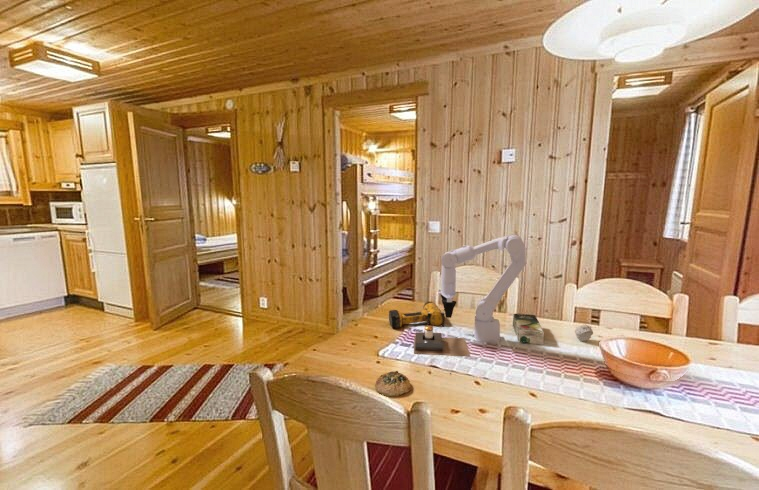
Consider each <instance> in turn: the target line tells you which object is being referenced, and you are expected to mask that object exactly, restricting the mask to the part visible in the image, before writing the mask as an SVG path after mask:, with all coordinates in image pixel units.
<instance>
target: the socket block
mask: <svg viewBox="0 0 759 490" xmlns="http://www.w3.org/2000/svg"><path fill="white" fill-rule="evenodd" d="M414 336H415V350H418V351H442V352H443V341H442V337H443V336H442V333H441V332H433V340H425V332H420V331H419V332H418V331H416V332H415V335H414Z"/></svg>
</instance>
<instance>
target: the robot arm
mask: <svg viewBox="0 0 759 490" xmlns="http://www.w3.org/2000/svg"><path fill="white" fill-rule="evenodd" d="M493 250H499V251H503V252H504V251H505V250H506V251H507V252H508V254H509V256H510V260H511V262H509V264H508V265H507V266H506V267H507V268H506V269H505V270H504V271H503V273H502V275H501V276H500V277H498V280H497V281H496V282H495V284H494V285H493V287H492V288H491V290H490V291H489V292H488V294H486V295H485V297H484V298H483V299H480V300H479V301H478V302H477V305H476V310H475V315H474V330H473V331H474V335H473V336H474V340H476V341H479V342H481V343H482V342H484V343H488V342H489V343H490V342H500V335H501V326H500V325H501V324H500V321H499V319H497V318H495V317H494V316H493V315H494V311H495V309H496V308H497V305H498V304H499V302H500V300H501V299H502V298H503V297H504V295H505V293H507V291H508V290H509V289H510V287H511V286H512V284H513V283H514V282H515V280H516V279H517V277H518V276H519V275H520V273H521V272H522V271H523V269H524V267H526V263H527V262H526V261H527V258H526V257H527V255H526V253H527V248H526V245H525V243H524V240H523V239H522V237H521V236H520V235H519V234H514V233H513V234H509V235H508V236H507V235H504V236H501V237H500V236H499V237H497V238H494V239H492V240H491V239H490V240H489V241H486V242H483V243H481V244H478V245H475V246H472V245H469V244H468V245H466V244H464V245H462V247H459V248H456V249H450V251H446V252H445V253H444V254H443V255H442V256H441V257H440V263H441V270H440V271H441V276H440V277H441V279H440V280H441V282H440V283H441V284H440V291H437V295H440V297H441V303H442V305H443V309H444V310H443V311H444V316H445V319H447V318H448V319H451V318H452V316H453V312H454V309H455V306H456V304H457V300H453V299H454V297H455V296H456V295H457V293H456V280H457V279H456V278H457V270H456V265H457V264H458V265H459V264H462V263H466V262H468V261H472V260H474V259H475V258H476V256H477V255H481V254H483V253H488V252H490V251H493Z"/></svg>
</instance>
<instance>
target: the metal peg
mask: <svg viewBox="0 0 759 490" xmlns="http://www.w3.org/2000/svg"><path fill="white" fill-rule="evenodd" d="M424 333H425V340H433V333H434V326H428V325H425V326H424Z"/></svg>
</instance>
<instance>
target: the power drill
mask: <svg viewBox="0 0 759 490" xmlns="http://www.w3.org/2000/svg"><path fill="white" fill-rule="evenodd" d="M445 319H446V315H445V311H444V312H443V311H442V310H441V309H440V308H439V306H438V305H437V304H436V303H434V302H433V301H427V302H425V303H424V304H423V309H422V311H418V312H409V313H407V312H406V313H401V312H400V310H398V309H390V310H389V311H388V322H389V325H390V326H391V328H393V329H397V328H401V327H402V326H403V325H406V324H414V323H415V324H417V323H422V322H427V326H433V327H441V328H442V327H445Z"/></svg>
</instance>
